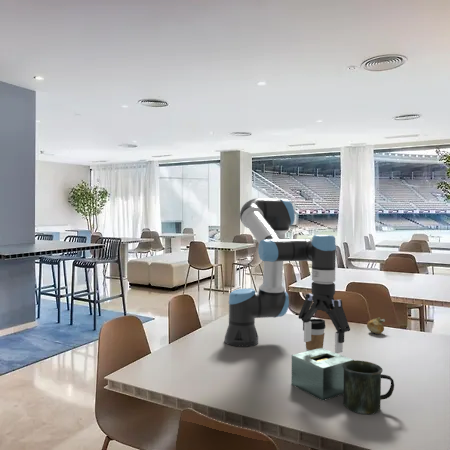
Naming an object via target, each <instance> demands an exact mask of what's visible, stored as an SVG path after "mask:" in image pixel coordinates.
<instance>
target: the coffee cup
mask: <svg viewBox="0 0 450 450" xmlns="http://www.w3.org/2000/svg"><path fill="white" fill-rule="evenodd" d="M310 320H311V321H309V322H311V341H308V342H305V349H306V351H310V350H315V349H319V348H323V349H324V340H325V329H326V321H325V320H324V319H323V318H311V319H310ZM306 351H305V352H306Z"/></svg>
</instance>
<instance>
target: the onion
mask: <svg viewBox="0 0 450 450" xmlns="http://www.w3.org/2000/svg"><path fill="white" fill-rule="evenodd" d="M385 321H386V320H385V318H382V319H381V317H378V316H377V317H376V318H373V319H371V320H369V321H367V323H366V327H367V329H368V331H369V332H370V333H372V334H374V333H375V335H381V334H382V333H383V332H384V330H385V326H384V324H383V323H385Z"/></svg>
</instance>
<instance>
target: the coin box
mask: <svg viewBox="0 0 450 450" xmlns="http://www.w3.org/2000/svg"><path fill="white" fill-rule="evenodd" d="M324 358H327V359H326V360H322V361H318V362H317V360H321V359H324ZM353 360H354V359H352V358H351V357H347V356H345V355H342V354H340V353H335V351H331V350H328V349H325V348H324V347H323V348H319V349H315V350H310V351H302V352H299V353H294V354H291V386H293V387H295V388H297V389H299V390H301V391H303V392H305V393H306V394H309V395H311V396H312V395H313V397H314V396H315V398H316V397H317V398H316V399H318V398H319V399H318V400H320V399H321V400H320V401H322V400H324V401H326V400H325V399H327V400H329V398H330V399H332V397H333V398H335V396H336V397H339V396H341V395H343V393H344V368H343V367H342V365H343V363H345V362H347V361H353ZM338 395H339V396H338Z"/></svg>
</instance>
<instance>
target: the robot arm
mask: <svg viewBox="0 0 450 450" xmlns="http://www.w3.org/2000/svg"><path fill="white" fill-rule="evenodd" d="M295 213H296V212H295V207H294V206H293V203H292V202H291V201H290V200H289V199H287V198H262V197H259V198H257V197H256V198H252V199H249V200H248V201H246V202H245V203H244V204H243V205H242V206H241V208H240V211H239V219H240V222H241V223H242V225H243V226H244V227H246V229H248V230H250V233H251V234H252V236H253V237H254V238H255V239H256V241H257V243H258V250H257V251H258V252H257V253H258V255H259V259H260V260H261V261H262V262H263V274H262V284H260V285H259V289H258V291H256V290H255V289H254V288H249V287H248V288H246V287H245V288H238V289H234V290H232V291H231V292H230V293H229V295H228V326H227V328H226V332H225V335H224V343H225V344H227V345H229V346H233V347H238V348H239V347H240V348H241V347H243V348H244V347H252V346H255V345H257V344H258V343H259V336H258V331H257V328H256V325H255V323H256V322H255V321H256V320H255V319H263V318H264V319H265V318H278V317H284V316H285V315H286V314H287V312H288V309H289V306H290V300H289V297H290V296H289V294H288V292H287V291H285V290H286V289H285V287H284V286H283V271H284V262H311V281H312V282H311V293H305V297H304V301H303V305H302V307H301V309H300V311H299V314H298V319H299V320H302V321H301V322H302V331H303V342H305V343H306V342H308V341H311V322H309V321H311V320H310V319H313V317H314V315H315V314H316V313H317V312H318V311H322V312H325V313H326V314H327V315H328V318H329V319H330V320H331V322H332V324H333V326H334V328H335V330H336V331H335V332H334V353H337V354H340V353H343V349H344V346H343V345H344V344H343V343H345V333H346V332H350V331H351V327H350V325H349V322H348V319H347V317H346V312H345V310H344V308H343V300H342V299H334V298H335V297H334V296H335V294H336V284H335V282H336V262H337V261H336V255H337V253H336V252H337V244H336V236H334V235H331V234H315V235H313V236H312V238H303V239H286V238H285V237H286V233H287V232H288V231H289V230H290V226H292V225H294V224H295V219H296V217H295V216H296V215H295Z"/></svg>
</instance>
